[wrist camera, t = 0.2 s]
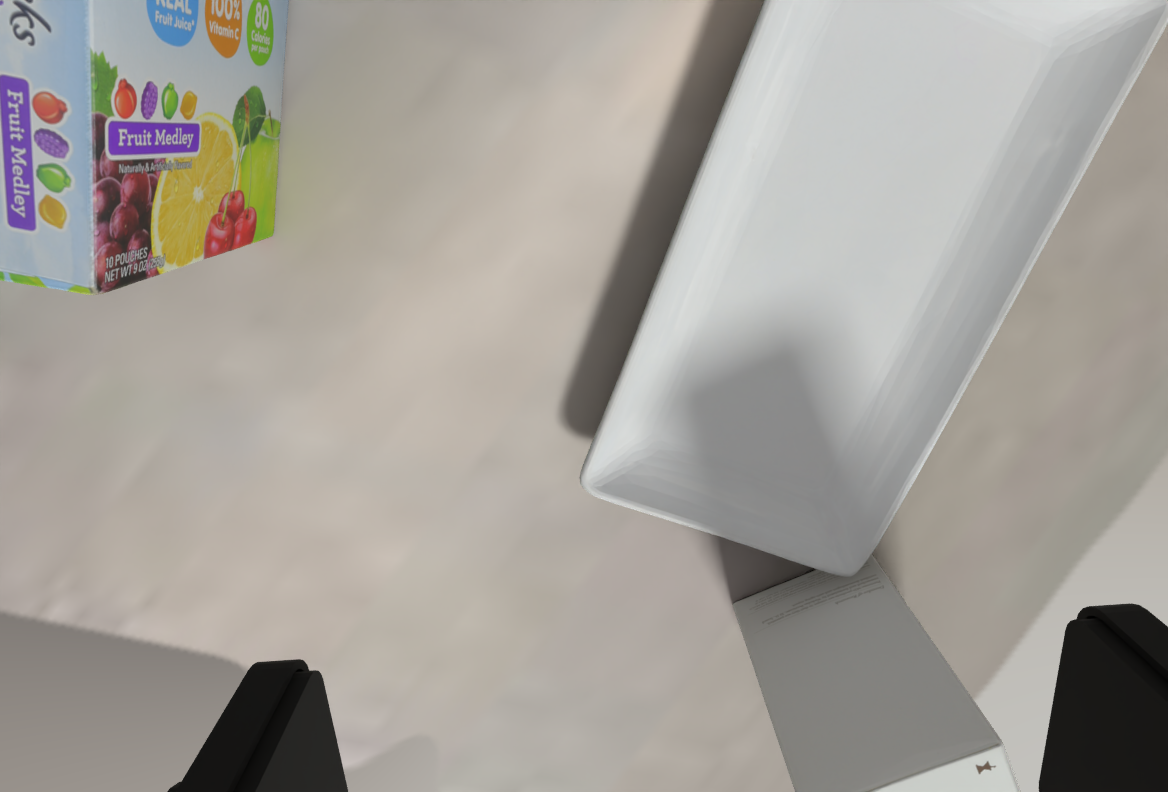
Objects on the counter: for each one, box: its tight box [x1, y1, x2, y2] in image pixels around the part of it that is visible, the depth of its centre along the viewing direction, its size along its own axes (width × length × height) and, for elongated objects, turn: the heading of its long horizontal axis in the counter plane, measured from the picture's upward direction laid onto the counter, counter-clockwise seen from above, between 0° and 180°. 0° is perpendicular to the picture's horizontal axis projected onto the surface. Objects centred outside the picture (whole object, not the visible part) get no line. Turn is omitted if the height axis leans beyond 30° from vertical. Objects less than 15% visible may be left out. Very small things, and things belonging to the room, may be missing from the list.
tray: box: [580, 0, 1168, 577], centre depth 37 cm, size 17×31×4 cm, turn 160°
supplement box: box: [733, 554, 1021, 792], centre depth 39 cm, size 9×9×15 cm
